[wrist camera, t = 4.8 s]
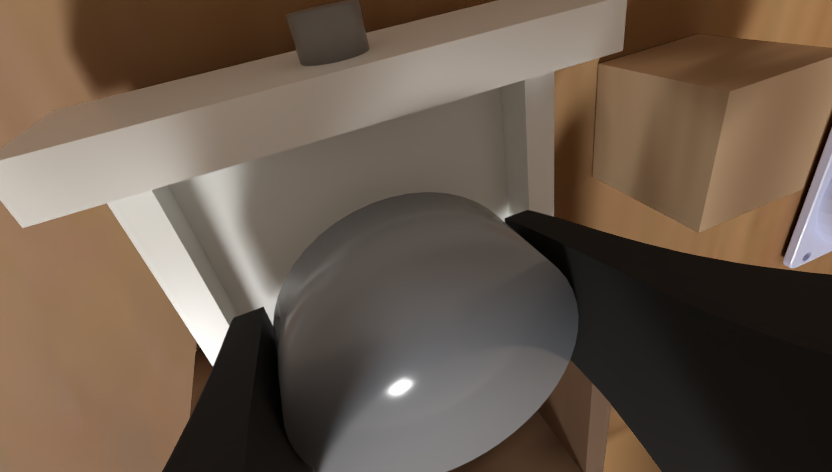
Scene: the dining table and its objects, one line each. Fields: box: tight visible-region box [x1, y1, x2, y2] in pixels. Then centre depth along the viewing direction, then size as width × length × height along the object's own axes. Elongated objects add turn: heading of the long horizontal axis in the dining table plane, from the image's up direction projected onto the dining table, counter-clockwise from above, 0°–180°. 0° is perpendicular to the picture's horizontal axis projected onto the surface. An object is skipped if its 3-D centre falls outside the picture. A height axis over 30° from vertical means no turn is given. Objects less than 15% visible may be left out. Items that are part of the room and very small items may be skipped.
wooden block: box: [592, 34, 832, 233], centre depth 12 cm, size 4×4×4 cm
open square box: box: [190, 349, 611, 472], centre depth 14 cm, size 11×9×4 cm
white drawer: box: [0, 0, 627, 366], centre depth 10 cm, size 10×10×3 cm
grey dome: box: [273, 192, 579, 472], centre depth 9 cm, size 6×6×2 cm
